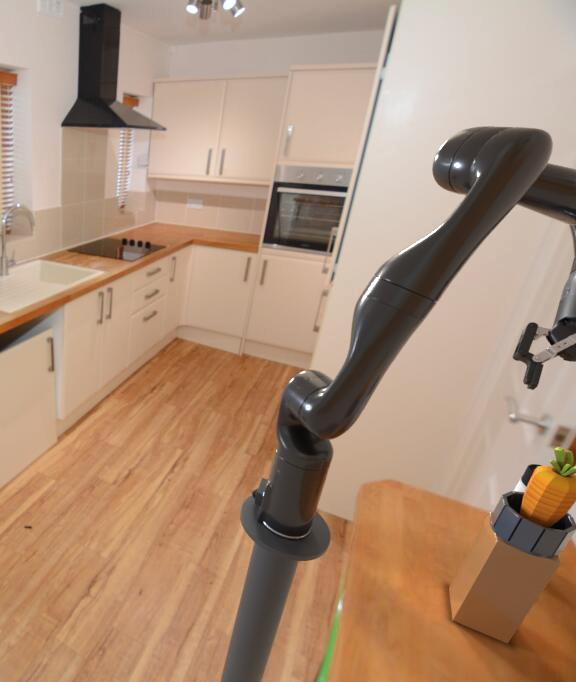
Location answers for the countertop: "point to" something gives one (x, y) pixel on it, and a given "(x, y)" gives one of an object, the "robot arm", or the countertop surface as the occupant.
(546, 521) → the carrot
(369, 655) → the countertop surface
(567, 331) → the robot arm
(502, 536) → the pad socket
